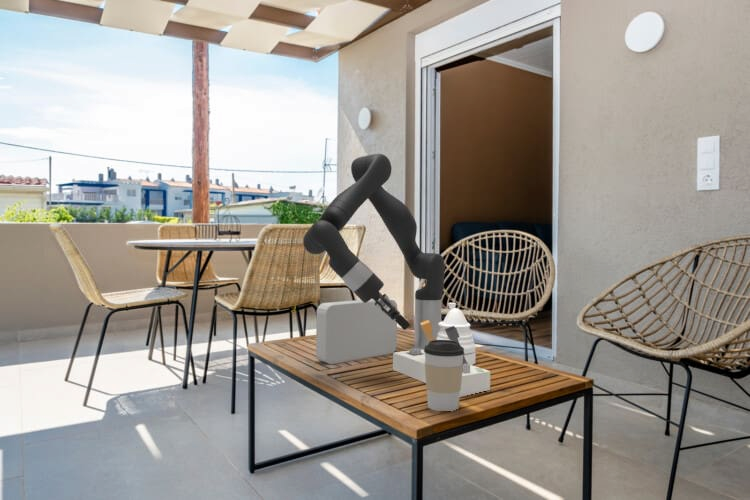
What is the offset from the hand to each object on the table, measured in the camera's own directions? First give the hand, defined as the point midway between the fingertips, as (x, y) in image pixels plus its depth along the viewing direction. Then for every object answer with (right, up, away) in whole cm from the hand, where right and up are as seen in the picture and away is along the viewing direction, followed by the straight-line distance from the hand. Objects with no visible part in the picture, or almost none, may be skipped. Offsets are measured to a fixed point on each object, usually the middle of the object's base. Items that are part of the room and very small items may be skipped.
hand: (407, 327), depth 135 cm
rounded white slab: (-14, -14, +25) cm, 32 cm away
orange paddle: (+8, -8, 0) cm, 12 cm away
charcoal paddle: (+14, -9, -8) cm, 19 cm away
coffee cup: (+7, -15, -22) cm, 27 cm away
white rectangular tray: (+8, -14, 0) cm, 17 cm away
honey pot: (+16, -14, +22) cm, 31 cm away
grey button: (+3, -11, +9) cm, 15 cm away
